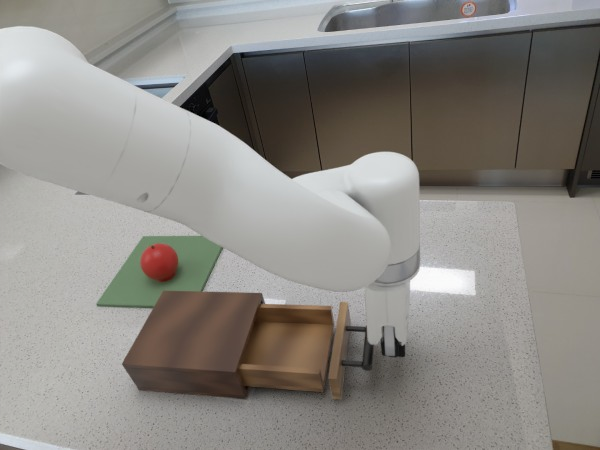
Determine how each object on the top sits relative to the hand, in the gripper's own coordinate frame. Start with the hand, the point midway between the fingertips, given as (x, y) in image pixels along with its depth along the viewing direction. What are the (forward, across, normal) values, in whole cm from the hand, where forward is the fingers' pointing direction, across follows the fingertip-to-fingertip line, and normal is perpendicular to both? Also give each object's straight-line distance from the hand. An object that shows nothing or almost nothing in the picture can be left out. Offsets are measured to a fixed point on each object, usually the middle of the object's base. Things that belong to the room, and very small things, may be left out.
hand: (393, 351), depth 65 cm
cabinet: (+3, 0, -29) cm, 30 cm away
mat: (+3, -19, -46) cm, 49 cm away
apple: (-1, -17, -44) cm, 48 cm away
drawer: (+2, 0, -13) cm, 13 cm away
